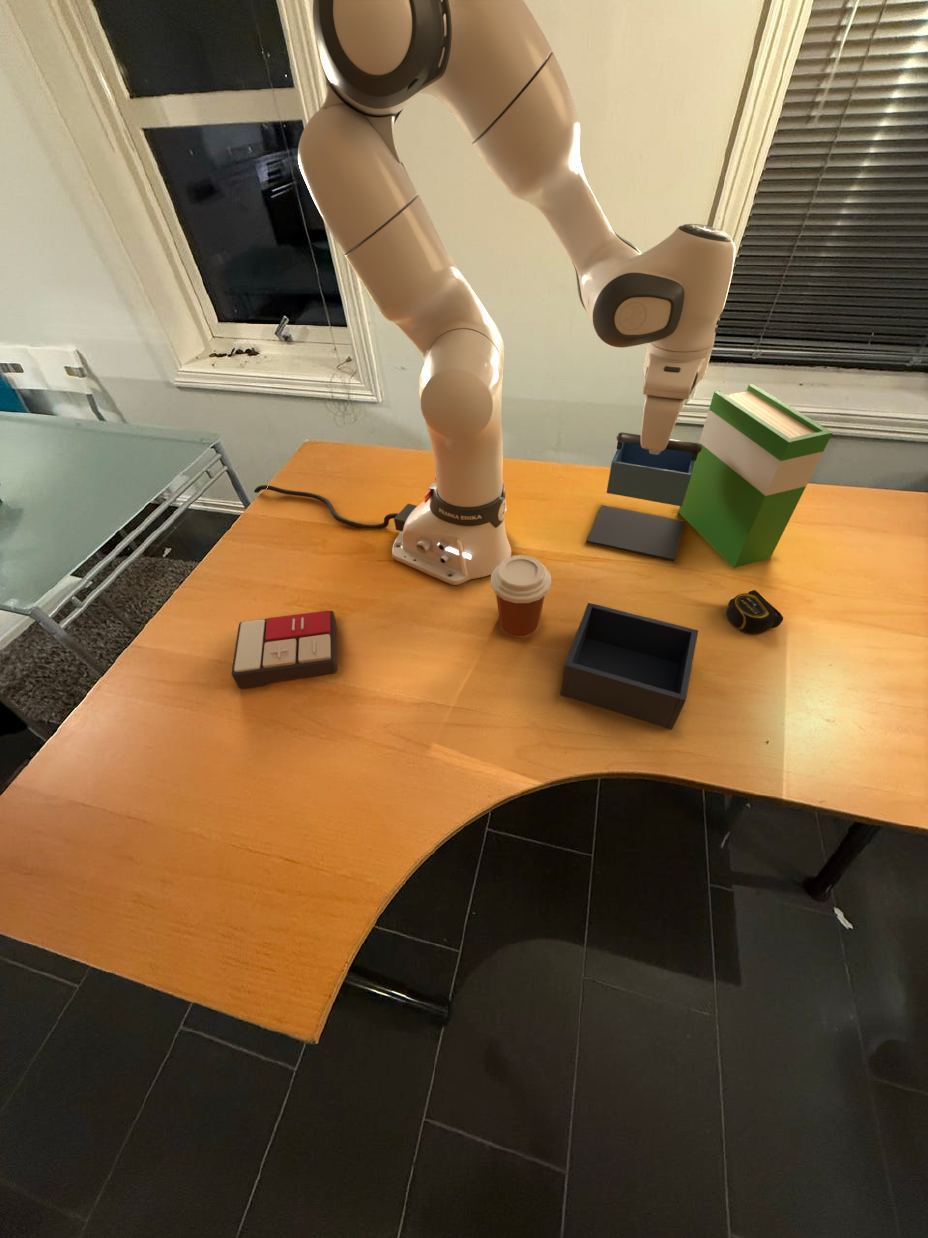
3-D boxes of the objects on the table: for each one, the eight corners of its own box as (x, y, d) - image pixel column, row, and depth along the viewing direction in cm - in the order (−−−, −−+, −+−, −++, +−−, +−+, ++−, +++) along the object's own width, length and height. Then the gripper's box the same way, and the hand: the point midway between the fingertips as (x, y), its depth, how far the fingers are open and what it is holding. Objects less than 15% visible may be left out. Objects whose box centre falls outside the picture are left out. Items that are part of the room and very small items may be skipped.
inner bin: (603, 492, 91) (611, 446, 85) (615, 464, 97) (623, 418, 91) (685, 507, 87) (699, 459, 81) (692, 476, 93) (706, 430, 87)
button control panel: (333, 658, 78) (229, 672, 76) (338, 675, 81) (238, 689, 80) (332, 606, 86) (237, 618, 84) (337, 624, 89) (245, 636, 87)
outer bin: (559, 697, 76) (564, 665, 70) (582, 635, 84) (588, 602, 78) (671, 732, 71) (685, 700, 66) (684, 663, 79) (698, 630, 73)
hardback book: (678, 511, 104) (714, 391, 86) (711, 504, 105) (753, 383, 87) (733, 568, 92) (788, 442, 74) (770, 558, 93) (832, 432, 76)
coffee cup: (497, 649, 82) (497, 595, 74) (486, 608, 89) (484, 554, 80) (553, 640, 83) (560, 586, 74) (538, 600, 89) (543, 545, 80)
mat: (586, 542, 99) (586, 540, 98) (601, 507, 106) (601, 504, 106) (674, 562, 94) (675, 559, 94) (683, 523, 101) (684, 520, 101)
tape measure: (779, 631, 82) (789, 615, 79) (741, 642, 81) (750, 626, 78) (750, 602, 87) (758, 585, 84) (714, 612, 85) (721, 596, 83)
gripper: (665, 333, 84) (648, 416, 94) (641, 387, 72) (624, 476, 82) (707, 337, 82) (684, 421, 92) (689, 393, 70) (666, 483, 80)
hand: (656, 447), depth 87 cm, fingers closed on inner bin
